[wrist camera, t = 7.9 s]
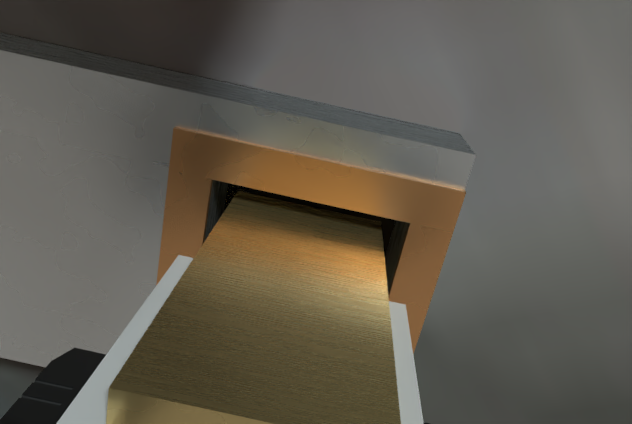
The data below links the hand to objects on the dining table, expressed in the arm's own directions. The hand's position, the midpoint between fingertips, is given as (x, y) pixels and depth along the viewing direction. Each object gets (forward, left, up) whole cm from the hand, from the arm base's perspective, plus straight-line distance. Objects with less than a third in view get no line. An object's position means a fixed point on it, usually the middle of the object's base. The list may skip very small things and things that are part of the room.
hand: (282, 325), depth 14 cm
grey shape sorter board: (-6, 0, -5) cm, 8 cm away
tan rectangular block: (0, 0, -3) cm, 3 cm away
